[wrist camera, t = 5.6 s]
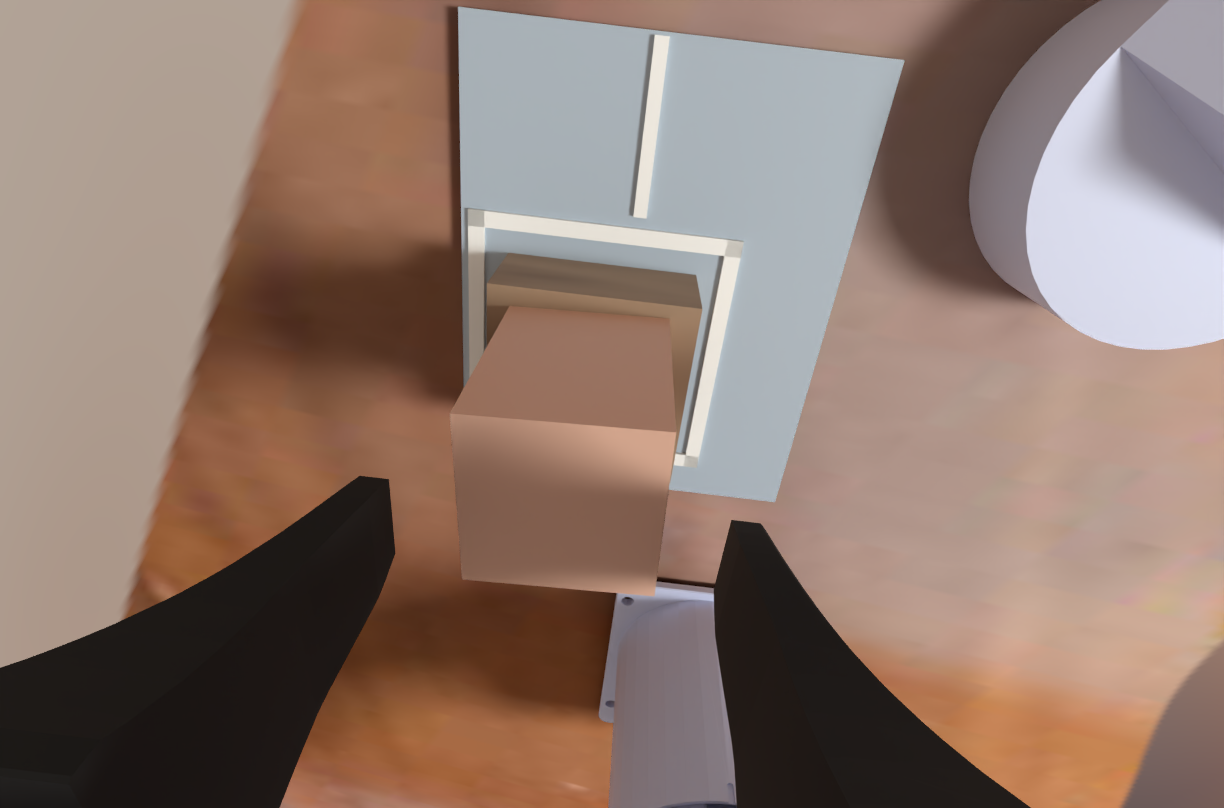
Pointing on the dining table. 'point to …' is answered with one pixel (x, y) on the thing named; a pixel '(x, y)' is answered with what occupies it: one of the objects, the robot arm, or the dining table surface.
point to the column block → (566, 452)
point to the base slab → (603, 301)
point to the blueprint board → (677, 199)
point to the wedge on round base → (1113, 175)
